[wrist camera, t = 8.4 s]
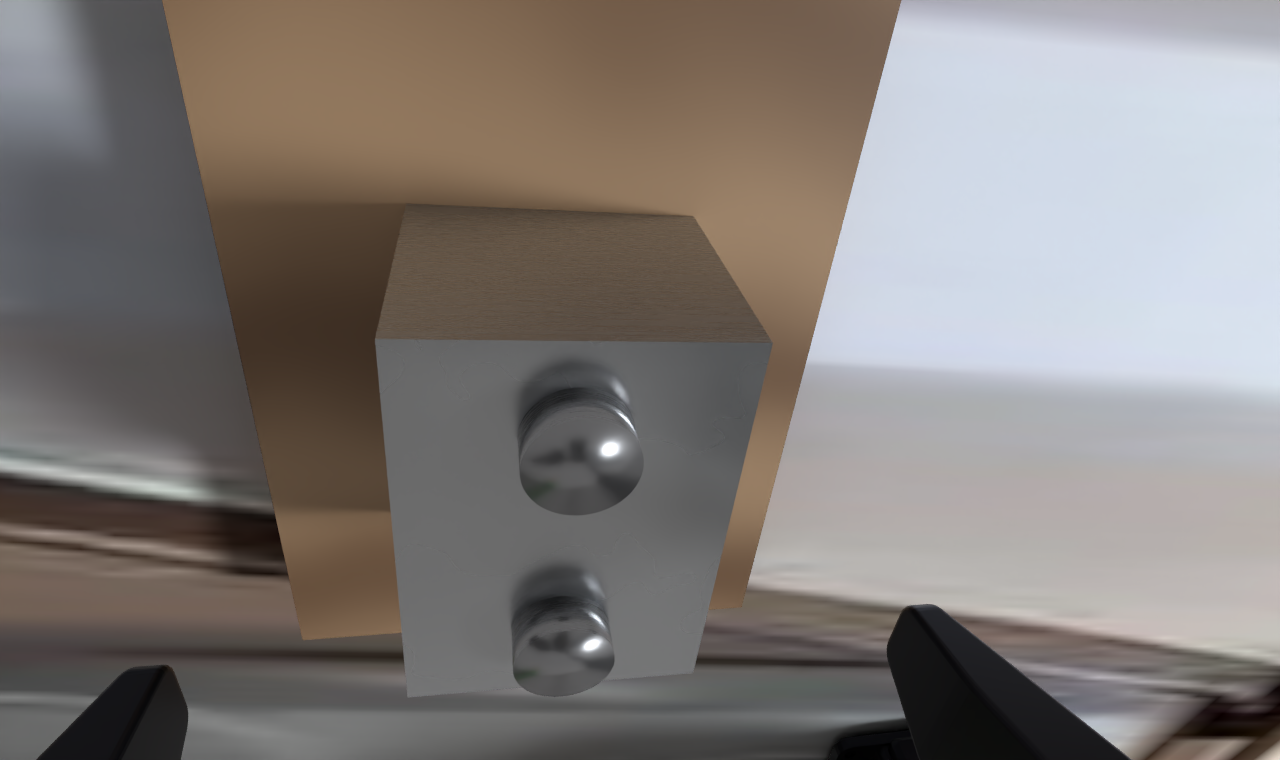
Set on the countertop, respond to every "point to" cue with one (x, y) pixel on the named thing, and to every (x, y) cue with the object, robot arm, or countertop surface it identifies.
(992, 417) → the countertop surface
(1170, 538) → the countertop surface
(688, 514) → the block
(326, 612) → the stand
